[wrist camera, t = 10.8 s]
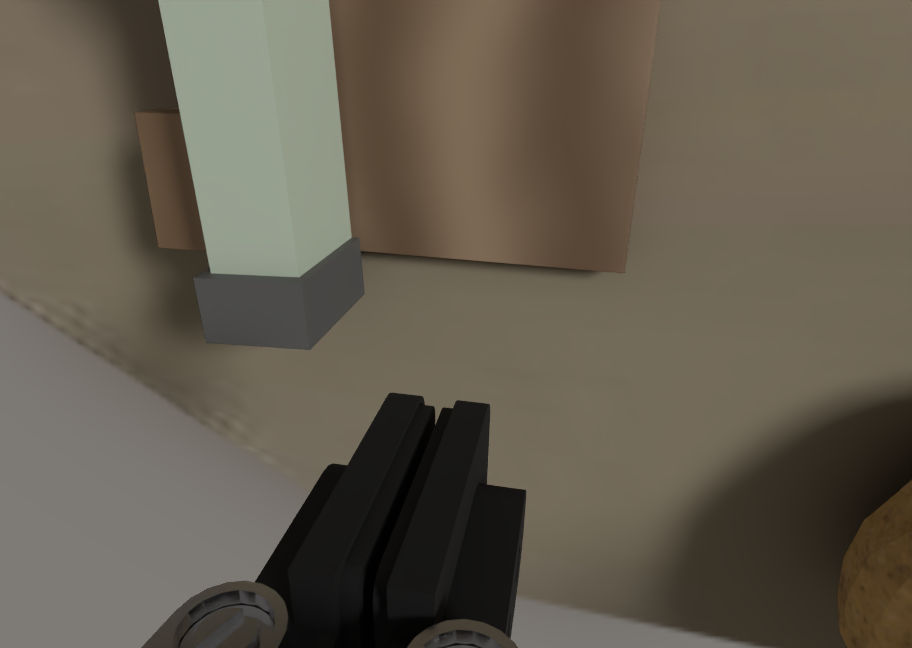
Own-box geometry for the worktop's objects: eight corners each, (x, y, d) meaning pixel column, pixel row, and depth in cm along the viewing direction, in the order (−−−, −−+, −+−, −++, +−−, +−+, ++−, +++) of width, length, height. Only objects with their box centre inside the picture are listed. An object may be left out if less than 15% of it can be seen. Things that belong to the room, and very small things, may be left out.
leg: (194, -219, 19) (64, -303, 14) (324, -236, 18) (230, -331, 13) (272, 289, 25) (199, 342, 20) (370, 294, 24) (317, 350, 20)
